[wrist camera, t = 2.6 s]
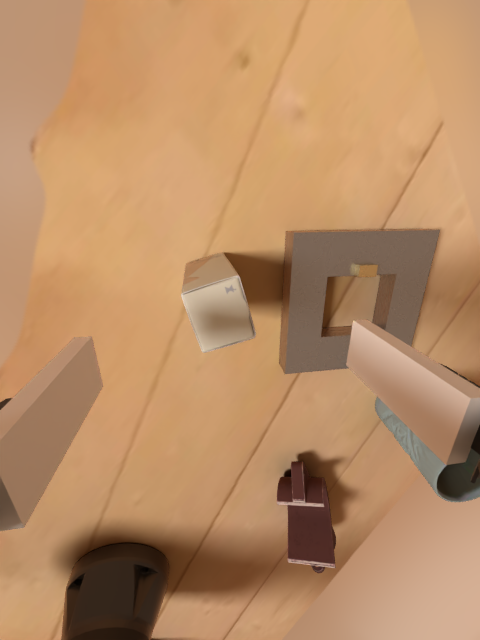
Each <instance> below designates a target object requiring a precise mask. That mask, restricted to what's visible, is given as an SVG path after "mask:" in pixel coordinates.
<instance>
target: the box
mask: <svg viewBox="0 0 480 640" xmlns="http://www.w3.org/2000/svg"><path fill="white" fill-rule="evenodd" d="M181 296H182V299H183V302H184V305H185V308H186V311H187V314H188V317H189V320H190V322H191V325H192V328H193V330H194V333H195V335H196V338H197V340H198V343H199V345H200V347H201V350H202V352H204V353H205V352H209V351H212V350H216V349H219V348H223V347H227V346H230V345H233V344H237V343H240V342H243V341H247V340H250V339H253V338H255V336H256V332H255V328H254V324H253V320H252V317H251V313H250V310H249V306H248V302H247V299H246V296H245V292H244V289H243V286H242V282H241V278H240V276H239V275H238V273H237V272H236V270H235V269H234V267H233V266H232V264H231V263H230V261H229V260H228V259H227V257H226V256H225V254H224V253H219V254H215V255H211V256H208V257H205V258H201V259H198V260H195V261H192V262H189V263H187V264H186V267H185V273H184V281H183V287H182V293H181Z"/></svg>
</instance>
